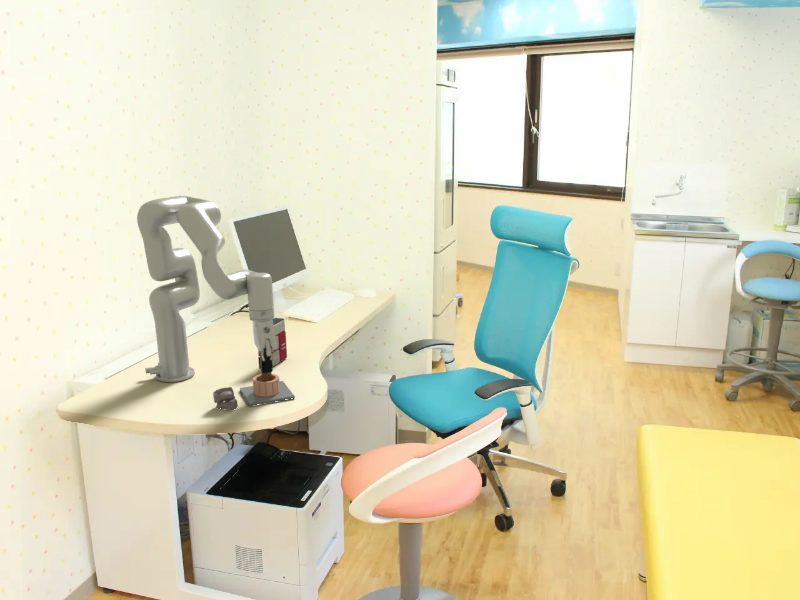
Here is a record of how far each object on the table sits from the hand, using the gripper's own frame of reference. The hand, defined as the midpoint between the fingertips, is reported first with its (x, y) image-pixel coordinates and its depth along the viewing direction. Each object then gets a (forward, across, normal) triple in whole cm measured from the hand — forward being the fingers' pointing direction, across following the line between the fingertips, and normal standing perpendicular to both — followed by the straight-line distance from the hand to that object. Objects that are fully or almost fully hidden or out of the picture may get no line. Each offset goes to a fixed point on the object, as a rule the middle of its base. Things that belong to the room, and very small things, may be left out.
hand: (265, 369), depth 221 cm
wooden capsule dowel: (+4, 0, 0) cm, 4 cm away
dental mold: (+9, -3, +14) cm, 16 cm away
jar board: (+8, 0, 0) cm, 8 cm away
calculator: (+9, +28, -10) cm, 31 cm away
